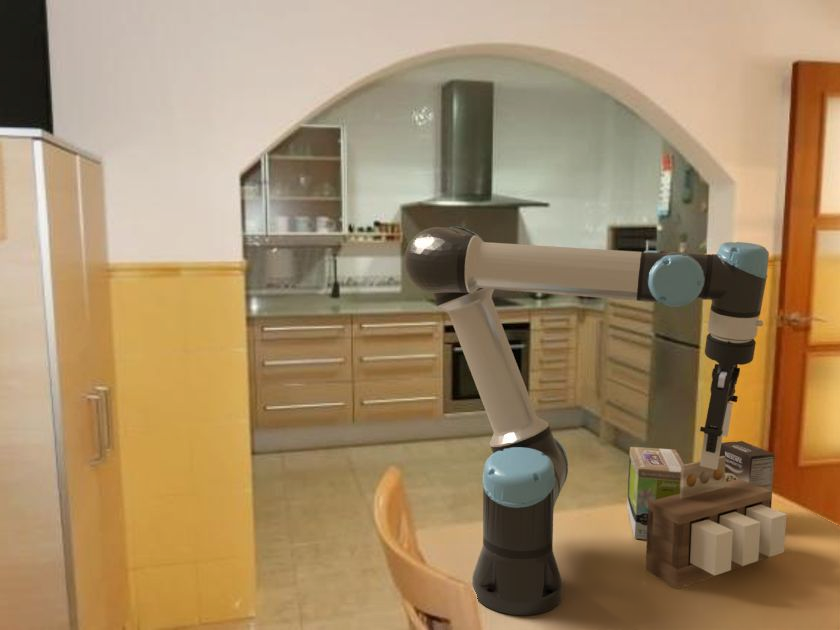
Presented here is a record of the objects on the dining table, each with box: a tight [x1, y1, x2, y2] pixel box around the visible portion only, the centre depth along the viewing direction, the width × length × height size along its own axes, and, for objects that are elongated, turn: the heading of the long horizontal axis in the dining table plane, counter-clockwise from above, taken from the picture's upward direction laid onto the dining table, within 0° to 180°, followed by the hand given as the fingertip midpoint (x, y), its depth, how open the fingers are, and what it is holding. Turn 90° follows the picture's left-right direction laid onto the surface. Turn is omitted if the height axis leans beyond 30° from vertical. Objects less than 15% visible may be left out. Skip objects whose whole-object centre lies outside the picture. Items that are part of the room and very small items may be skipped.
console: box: [645, 456, 773, 589], centre depth 122 cm, size 7×24×19 cm, turn 117°
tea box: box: [626, 446, 686, 541], centre depth 139 cm, size 15×10×15 cm, turn 169°
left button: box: [690, 519, 733, 577], centre depth 114 cm, size 5×4×7 cm
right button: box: [746, 504, 787, 558], centre depth 120 cm, size 5×4×7 cm
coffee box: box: [719, 440, 776, 492], centre depth 141 cm, size 9×6×16 cm
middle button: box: [719, 512, 760, 567], centre depth 117 cm, size 5×4×7 cm
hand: (714, 450), depth 118 cm, fingers open, 13 cm apart
